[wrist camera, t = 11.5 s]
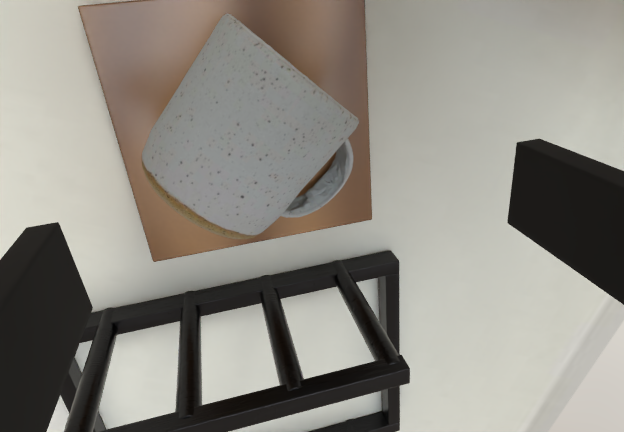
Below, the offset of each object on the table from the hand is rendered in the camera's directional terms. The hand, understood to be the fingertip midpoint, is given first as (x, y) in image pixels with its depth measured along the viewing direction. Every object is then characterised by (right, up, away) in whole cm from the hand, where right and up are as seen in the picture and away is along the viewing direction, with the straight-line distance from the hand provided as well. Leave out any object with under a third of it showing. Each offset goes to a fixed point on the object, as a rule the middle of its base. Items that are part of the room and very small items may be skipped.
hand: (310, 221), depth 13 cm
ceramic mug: (-3, +5, +12) cm, 13 cm away
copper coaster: (-4, +5, +12) cm, 14 cm away
